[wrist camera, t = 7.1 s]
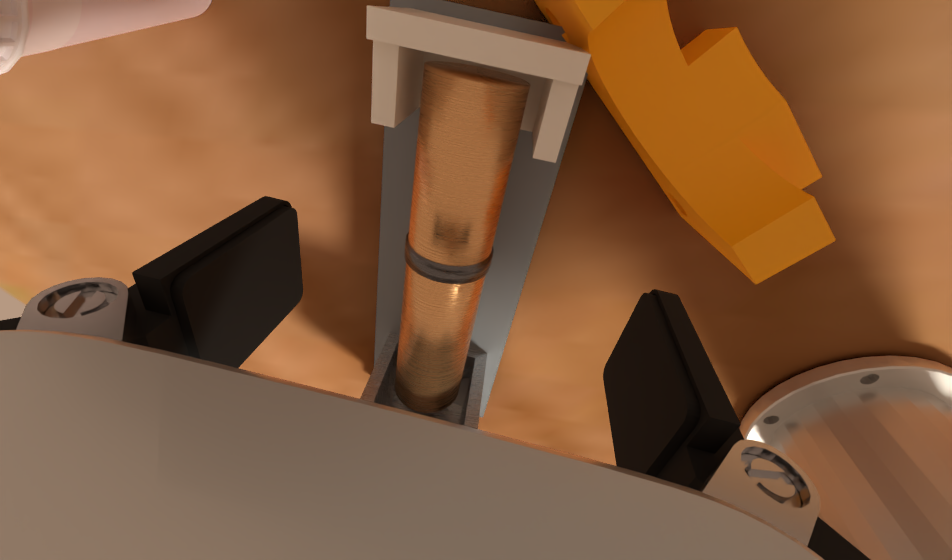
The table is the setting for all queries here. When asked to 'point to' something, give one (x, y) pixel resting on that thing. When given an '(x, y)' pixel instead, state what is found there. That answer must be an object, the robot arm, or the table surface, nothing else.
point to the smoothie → (80, 22)
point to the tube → (453, 222)
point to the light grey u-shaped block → (460, 41)
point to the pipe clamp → (703, 129)
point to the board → (515, 223)
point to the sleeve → (458, 412)
